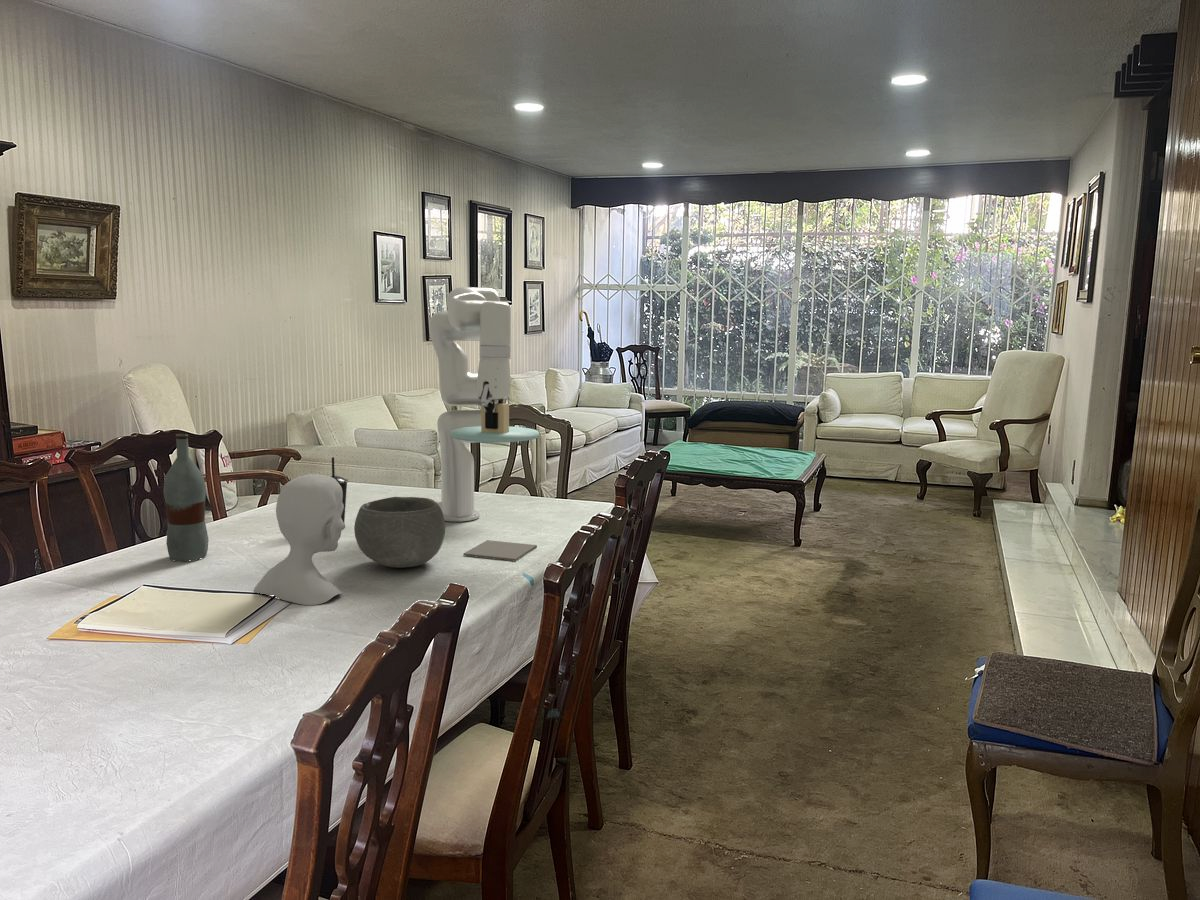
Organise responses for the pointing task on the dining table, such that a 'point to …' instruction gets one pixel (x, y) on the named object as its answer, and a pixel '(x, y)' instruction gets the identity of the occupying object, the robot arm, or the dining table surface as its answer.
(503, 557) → the mat
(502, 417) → the lid
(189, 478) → the bottle
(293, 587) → the head bust
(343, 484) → the walkie talkie
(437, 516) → the bowl
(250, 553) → the dining table surface
